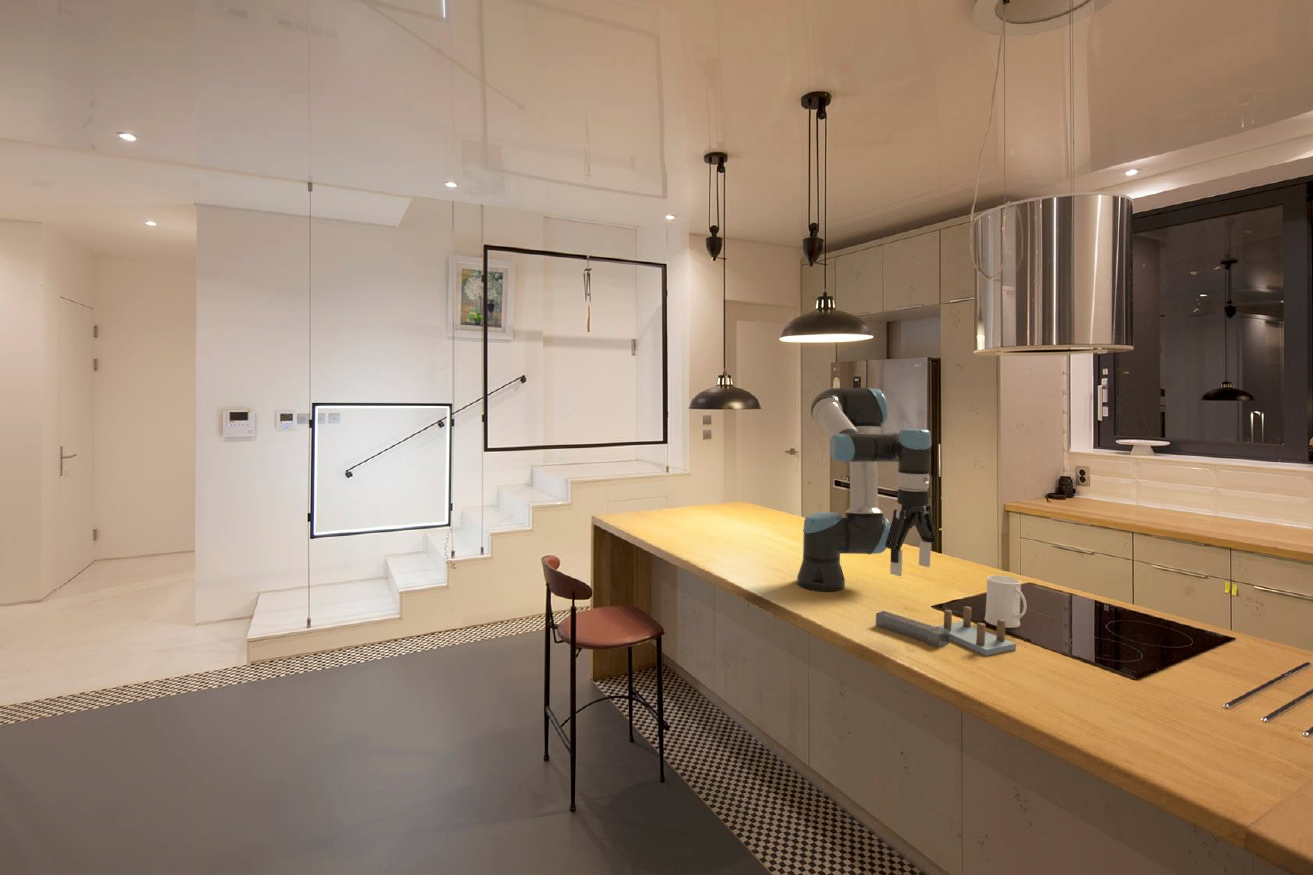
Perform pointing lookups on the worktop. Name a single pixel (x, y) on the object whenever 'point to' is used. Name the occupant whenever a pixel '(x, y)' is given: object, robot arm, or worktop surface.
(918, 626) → the spanner bar
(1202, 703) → the worktop surface
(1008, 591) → the mug
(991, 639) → the peg rack
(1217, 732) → the worktop surface
